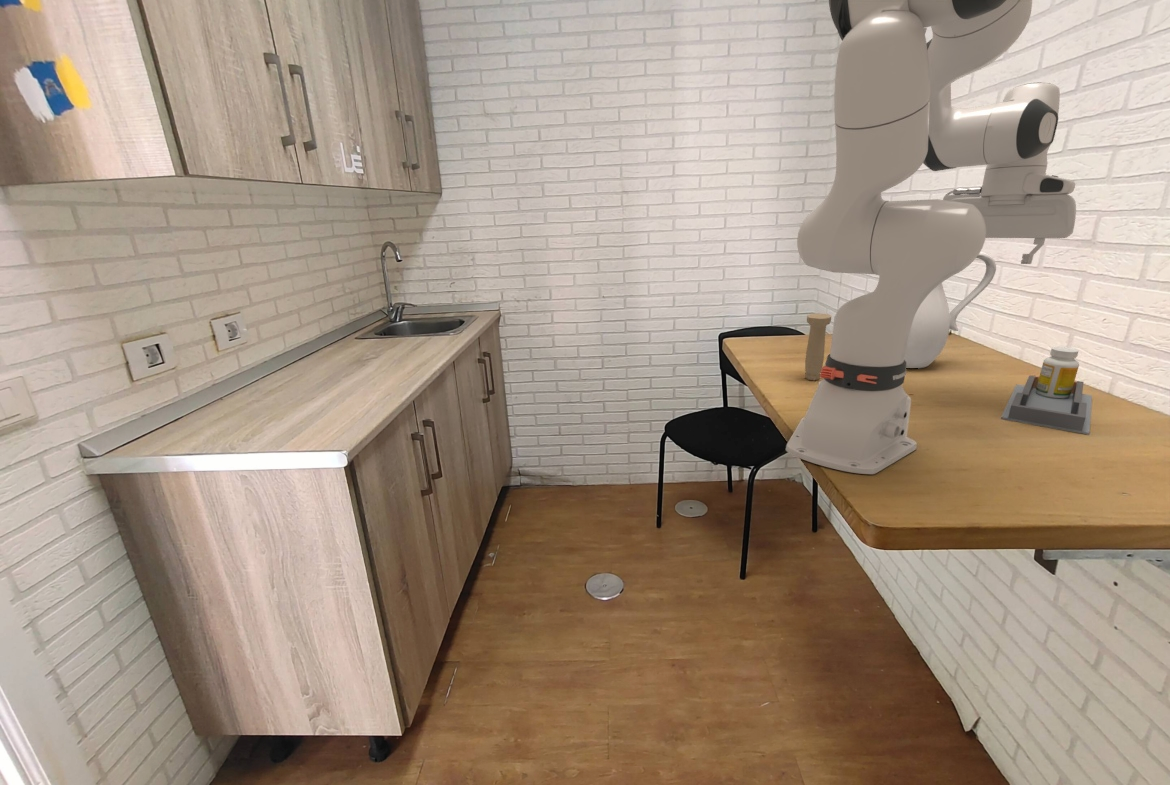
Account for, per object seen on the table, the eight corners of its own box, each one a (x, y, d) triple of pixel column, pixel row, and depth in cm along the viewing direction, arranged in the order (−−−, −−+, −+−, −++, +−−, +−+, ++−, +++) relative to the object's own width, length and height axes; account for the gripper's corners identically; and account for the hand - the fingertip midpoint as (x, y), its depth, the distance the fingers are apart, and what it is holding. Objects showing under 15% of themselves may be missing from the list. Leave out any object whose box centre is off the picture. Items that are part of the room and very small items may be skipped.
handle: (825, 376, 124) (833, 314, 119) (820, 384, 119) (828, 319, 114) (804, 374, 127) (811, 312, 122) (798, 381, 122) (804, 317, 117)
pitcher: (867, 369, 128) (884, 253, 119) (862, 352, 143) (876, 247, 134) (985, 377, 119) (1012, 252, 110) (966, 358, 134) (989, 246, 125)
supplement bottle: (1032, 394, 106) (1043, 349, 103) (1038, 388, 110) (1050, 344, 106) (1066, 401, 102) (1080, 354, 99) (1072, 394, 106) (1085, 348, 102)
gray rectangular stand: (1089, 434, 89) (1093, 419, 88) (1000, 418, 97) (1004, 404, 96) (1091, 397, 105) (1095, 383, 104) (1016, 386, 113) (1019, 373, 112)
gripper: (941, 188, 100) (927, 262, 105) (1085, 181, 87) (1063, 266, 91) (948, 189, 105) (934, 260, 109) (1086, 183, 91) (1065, 264, 95)
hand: (994, 263), depth 100 cm, fingers open, 8 cm apart
